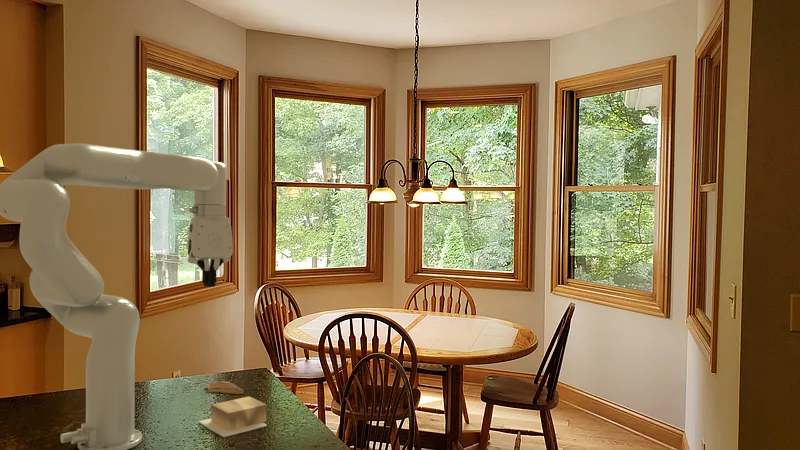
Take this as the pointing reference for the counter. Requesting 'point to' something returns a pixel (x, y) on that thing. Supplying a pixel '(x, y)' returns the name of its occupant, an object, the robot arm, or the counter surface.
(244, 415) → the wood block
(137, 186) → the robot arm
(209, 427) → the plastic mat
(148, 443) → the counter surface
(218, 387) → the shard
